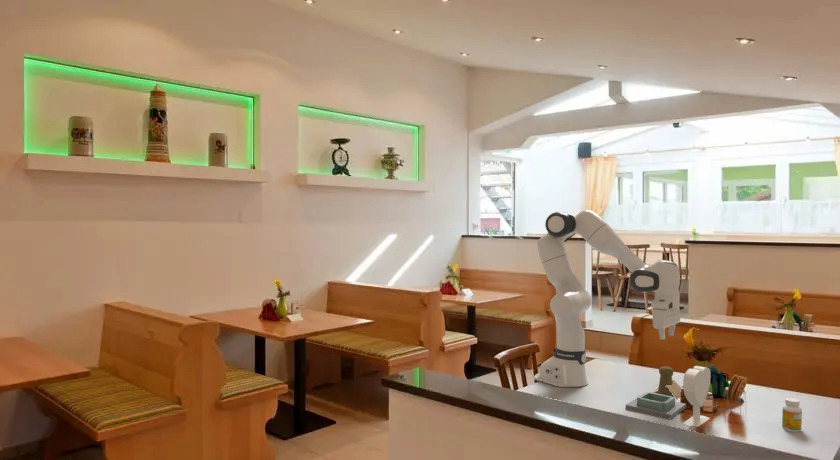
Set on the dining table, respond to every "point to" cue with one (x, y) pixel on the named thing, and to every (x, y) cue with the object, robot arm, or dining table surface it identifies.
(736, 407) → the dining table surface
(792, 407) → the supplement bottle
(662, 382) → the olive green tapered cylinder
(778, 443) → the dining table surface
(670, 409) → the housing
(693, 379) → the heart sculpture
